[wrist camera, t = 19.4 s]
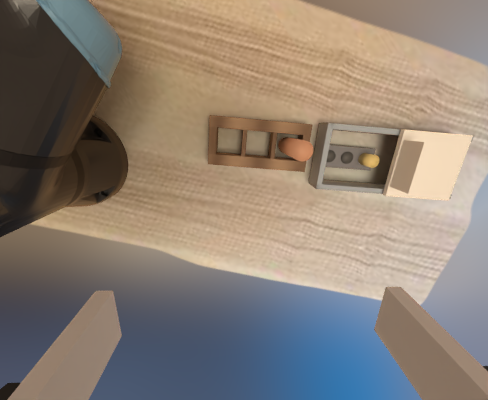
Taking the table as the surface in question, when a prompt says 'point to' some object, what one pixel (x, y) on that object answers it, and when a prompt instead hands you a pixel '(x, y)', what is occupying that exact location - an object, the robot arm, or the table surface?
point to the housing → (345, 158)
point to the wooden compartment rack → (245, 125)
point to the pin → (296, 148)
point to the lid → (426, 164)
